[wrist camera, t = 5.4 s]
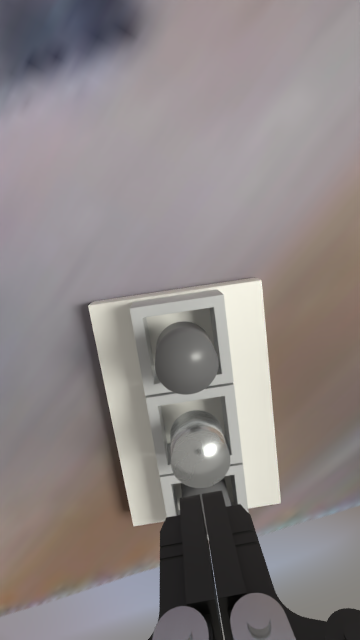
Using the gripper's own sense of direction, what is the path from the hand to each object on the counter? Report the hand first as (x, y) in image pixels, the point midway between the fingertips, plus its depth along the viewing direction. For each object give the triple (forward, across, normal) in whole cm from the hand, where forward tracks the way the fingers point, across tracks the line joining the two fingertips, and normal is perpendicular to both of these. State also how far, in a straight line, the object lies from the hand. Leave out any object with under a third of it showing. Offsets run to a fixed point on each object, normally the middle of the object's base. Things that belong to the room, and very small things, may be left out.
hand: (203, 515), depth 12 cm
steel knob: (+14, 0, +5) cm, 15 cm away
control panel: (+19, 0, +5) cm, 20 cm away
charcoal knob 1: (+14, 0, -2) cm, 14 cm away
